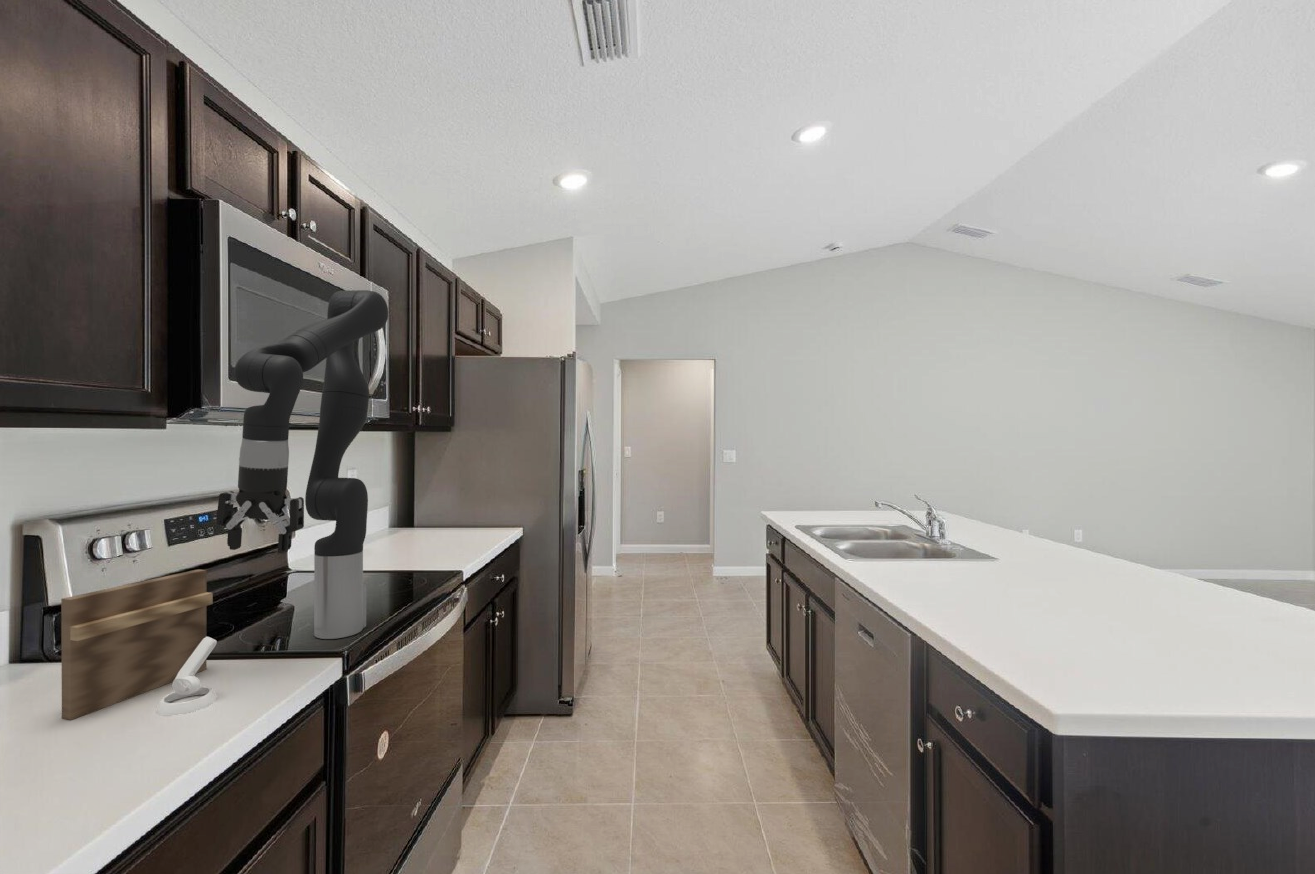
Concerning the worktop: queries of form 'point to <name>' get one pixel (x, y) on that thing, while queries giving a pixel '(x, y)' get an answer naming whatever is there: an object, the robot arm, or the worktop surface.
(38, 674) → the worktop surface
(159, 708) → the white lever switch
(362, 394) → the robot arm
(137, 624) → the wall board
